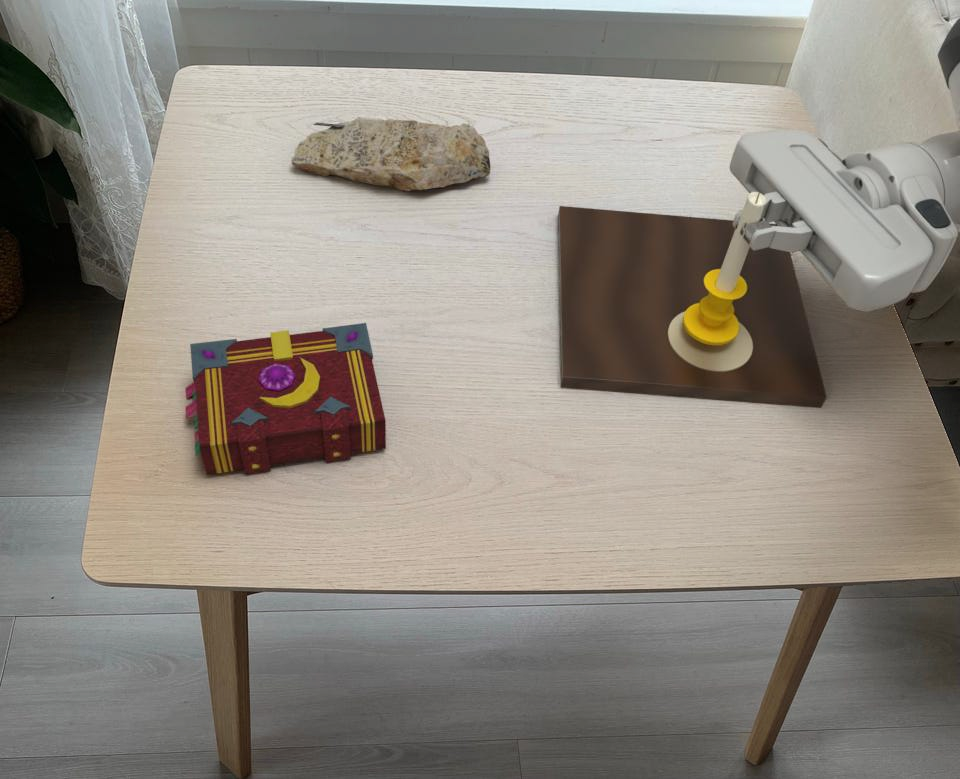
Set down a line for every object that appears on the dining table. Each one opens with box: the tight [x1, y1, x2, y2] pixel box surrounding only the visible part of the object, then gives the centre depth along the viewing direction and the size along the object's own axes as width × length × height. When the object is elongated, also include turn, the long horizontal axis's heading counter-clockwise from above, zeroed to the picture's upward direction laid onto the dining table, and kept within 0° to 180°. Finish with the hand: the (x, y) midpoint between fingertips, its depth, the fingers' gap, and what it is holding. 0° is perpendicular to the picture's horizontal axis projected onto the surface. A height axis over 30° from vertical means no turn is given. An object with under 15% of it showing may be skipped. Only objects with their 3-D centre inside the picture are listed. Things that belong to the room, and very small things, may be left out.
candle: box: [683, 192, 766, 345], centre depth 83 cm, size 5×5×16 cm
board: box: [557, 205, 828, 408], centre depth 94 cm, size 24×24×2 cm
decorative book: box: [184, 322, 387, 476], centre depth 80 cm, size 11×16×5 cm
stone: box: [291, 117, 491, 192], centre depth 103 cm, size 21×6×10 cm
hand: (743, 231), depth 79 cm, fingers closed on candle
